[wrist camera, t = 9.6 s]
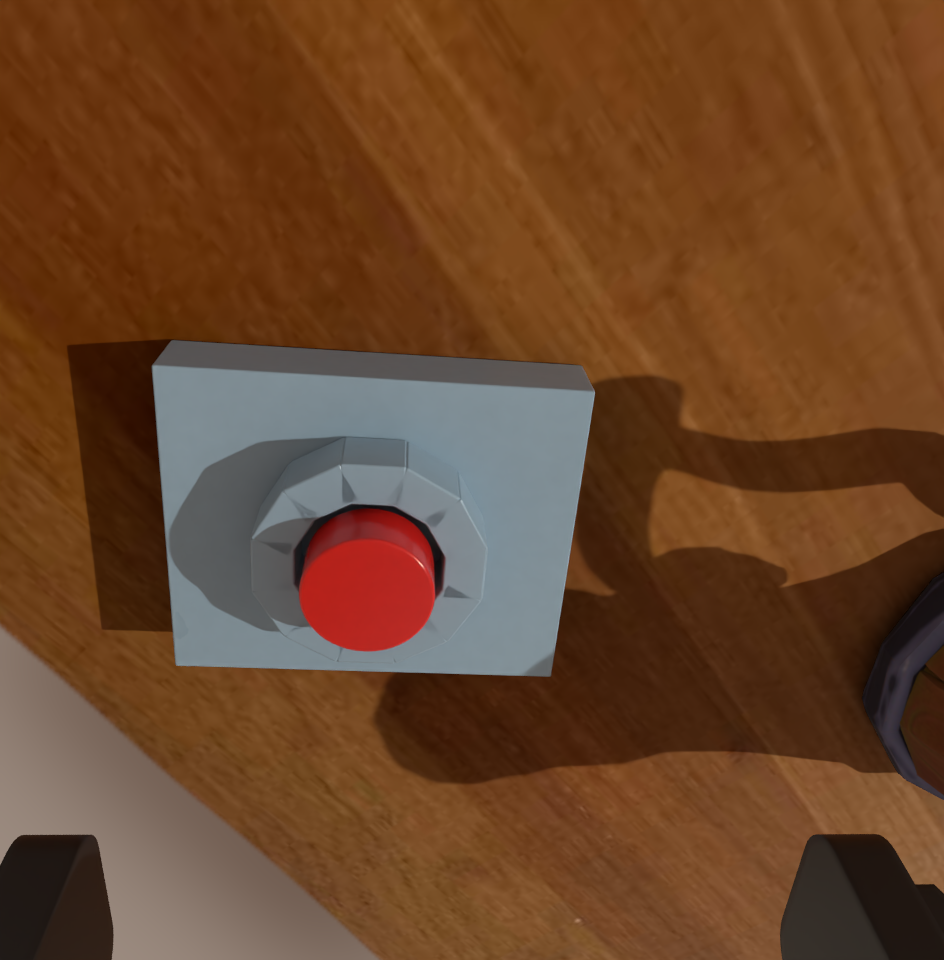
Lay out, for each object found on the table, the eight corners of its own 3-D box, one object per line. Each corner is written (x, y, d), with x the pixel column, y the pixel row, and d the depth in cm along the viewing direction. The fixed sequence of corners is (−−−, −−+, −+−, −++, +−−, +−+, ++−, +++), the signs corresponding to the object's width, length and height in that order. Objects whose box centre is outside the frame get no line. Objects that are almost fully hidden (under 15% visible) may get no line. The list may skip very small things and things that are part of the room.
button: (305, 613, 26) (298, 651, 24) (305, 503, 24) (298, 536, 23) (429, 617, 26) (430, 655, 25) (437, 510, 25) (439, 542, 23)
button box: (190, 624, 30) (160, 704, 26) (171, 339, 26) (131, 390, 22) (542, 636, 31) (559, 715, 28) (582, 364, 27) (608, 417, 23)
